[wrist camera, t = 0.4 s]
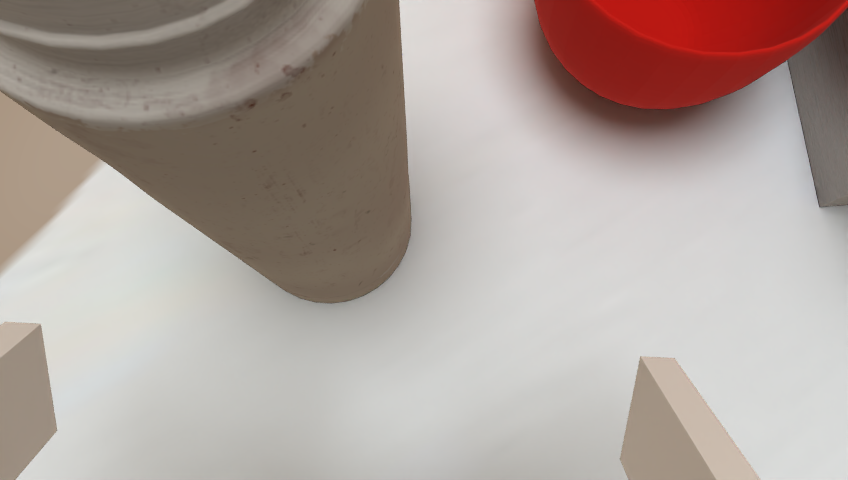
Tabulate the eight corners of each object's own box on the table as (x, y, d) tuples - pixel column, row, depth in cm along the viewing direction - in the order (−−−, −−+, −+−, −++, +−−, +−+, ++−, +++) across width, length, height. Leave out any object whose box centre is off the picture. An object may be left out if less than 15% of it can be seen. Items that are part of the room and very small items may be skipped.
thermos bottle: (217, 227, 32) (-867, -615, 5) (330, 118, 34) (-54, -1024, 6) (332, 337, 31) (-277, 9, 4) (444, 219, 33) (569, -643, 5)
